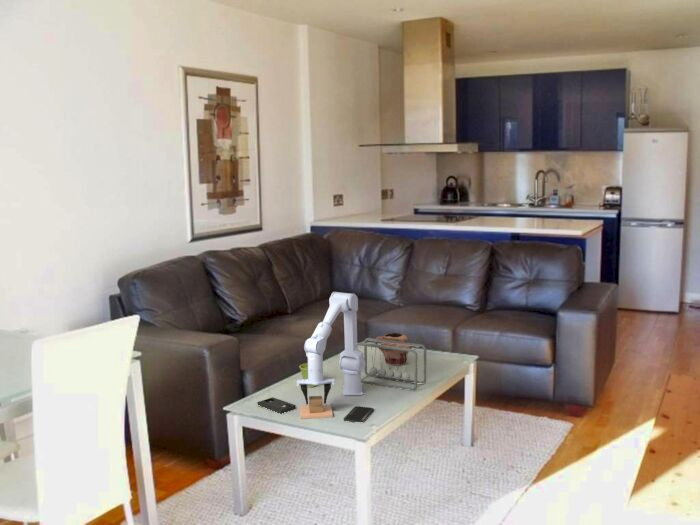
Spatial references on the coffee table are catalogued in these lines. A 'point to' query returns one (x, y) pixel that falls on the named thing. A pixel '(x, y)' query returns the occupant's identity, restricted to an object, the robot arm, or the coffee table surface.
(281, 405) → the vhs tape
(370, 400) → the coffee table surface
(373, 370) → the newton's cradle
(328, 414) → the terracotta tile
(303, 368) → the plant pot
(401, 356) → the decorative planter
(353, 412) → the phone
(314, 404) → the walnut cube
